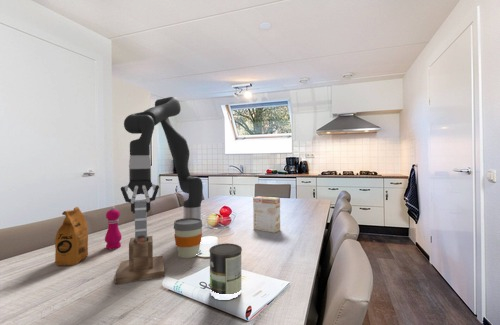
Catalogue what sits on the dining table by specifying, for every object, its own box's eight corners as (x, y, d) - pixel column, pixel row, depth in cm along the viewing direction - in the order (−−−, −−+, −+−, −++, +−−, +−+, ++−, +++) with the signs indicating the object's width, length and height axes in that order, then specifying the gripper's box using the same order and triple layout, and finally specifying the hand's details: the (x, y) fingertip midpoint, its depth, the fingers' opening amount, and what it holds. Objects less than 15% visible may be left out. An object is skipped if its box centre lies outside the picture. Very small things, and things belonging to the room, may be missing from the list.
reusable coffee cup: (207, 251, 119) (207, 218, 119) (193, 261, 107) (192, 225, 107) (184, 248, 123) (184, 217, 123) (168, 257, 111) (167, 223, 111)
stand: (162, 260, 109) (162, 228, 108) (164, 276, 94) (164, 239, 94) (120, 266, 103) (120, 232, 103) (115, 284, 88) (114, 244, 88)
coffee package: (50, 267, 102) (49, 212, 102) (68, 255, 115) (67, 206, 114) (76, 266, 103) (75, 211, 103) (92, 254, 116) (91, 205, 116)
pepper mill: (114, 250, 121) (114, 208, 121) (101, 249, 122) (100, 207, 122) (125, 245, 128) (124, 205, 128) (112, 244, 130) (111, 204, 129)
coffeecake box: (280, 230, 153) (280, 197, 153) (275, 233, 147) (275, 199, 147) (259, 226, 161) (258, 195, 161) (253, 229, 155) (252, 197, 155)
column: (147, 245, 101) (146, 199, 101) (146, 248, 97) (146, 201, 97) (135, 246, 99) (135, 200, 99) (135, 249, 96) (134, 201, 95)
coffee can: (208, 302, 77) (208, 255, 76) (210, 285, 87) (210, 243, 87) (243, 300, 78) (242, 253, 77) (241, 283, 88) (241, 242, 88)
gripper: (159, 166, 104) (160, 209, 104) (120, 167, 99) (121, 212, 99) (160, 167, 97) (160, 212, 97) (118, 168, 92) (118, 216, 92)
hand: (140, 212), depth 98 cm, fingers closed on column, 4 cm apart
